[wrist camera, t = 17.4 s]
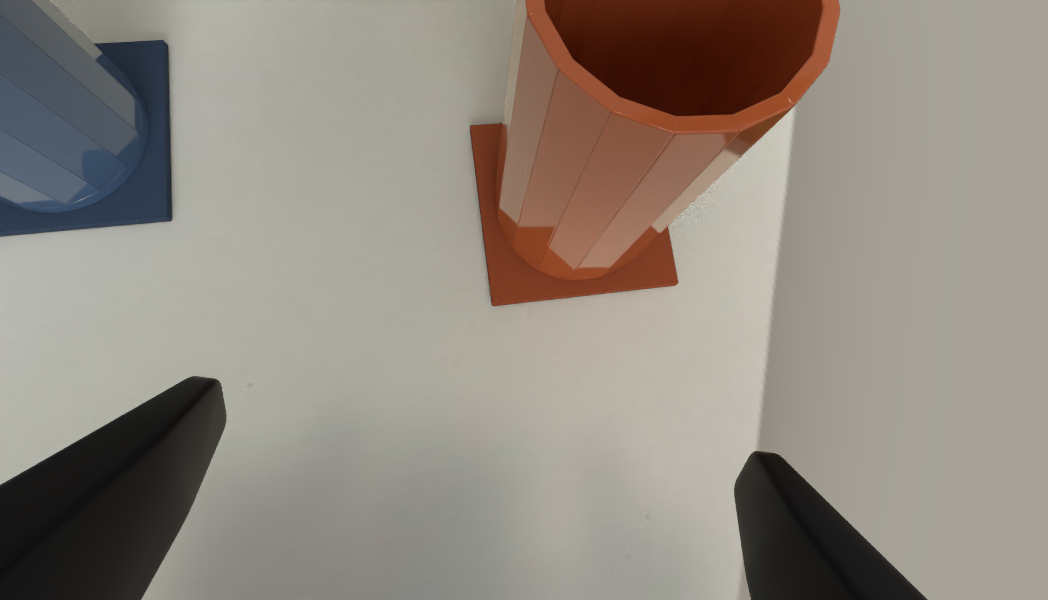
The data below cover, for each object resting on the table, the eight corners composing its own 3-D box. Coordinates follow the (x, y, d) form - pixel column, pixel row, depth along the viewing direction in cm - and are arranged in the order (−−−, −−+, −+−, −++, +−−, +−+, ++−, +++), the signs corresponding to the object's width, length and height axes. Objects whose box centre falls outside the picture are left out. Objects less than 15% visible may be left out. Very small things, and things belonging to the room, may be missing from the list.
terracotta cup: (585, 313, 24) (718, 199, 11) (462, 209, 24) (454, -16, 12) (681, 198, 25) (896, -19, 13) (563, 101, 26) (655, -204, 13)
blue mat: (171, 221, 23) (167, 217, 23) (-45, 240, 22) (-54, 237, 22) (167, 45, 25) (163, 39, 24) (-36, 57, 24) (-44, 51, 24)
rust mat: (675, 285, 25) (678, 283, 25) (492, 306, 24) (492, 304, 24) (644, 116, 26) (646, 111, 26) (469, 129, 25) (469, 125, 25)
